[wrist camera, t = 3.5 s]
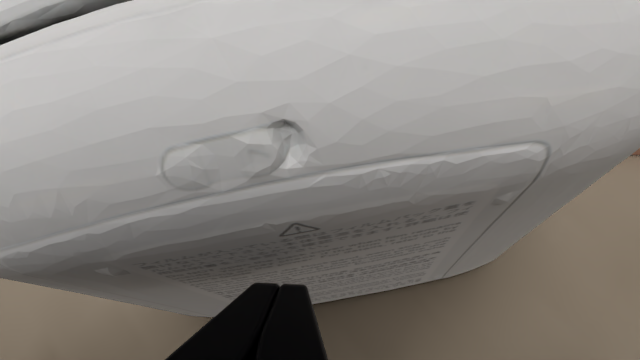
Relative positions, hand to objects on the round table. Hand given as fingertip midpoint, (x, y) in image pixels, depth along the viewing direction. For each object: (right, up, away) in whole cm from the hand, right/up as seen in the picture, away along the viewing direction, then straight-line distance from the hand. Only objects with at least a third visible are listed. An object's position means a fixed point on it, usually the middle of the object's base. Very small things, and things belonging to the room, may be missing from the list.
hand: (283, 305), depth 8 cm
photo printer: (+1, 0, +9) cm, 9 cm away
